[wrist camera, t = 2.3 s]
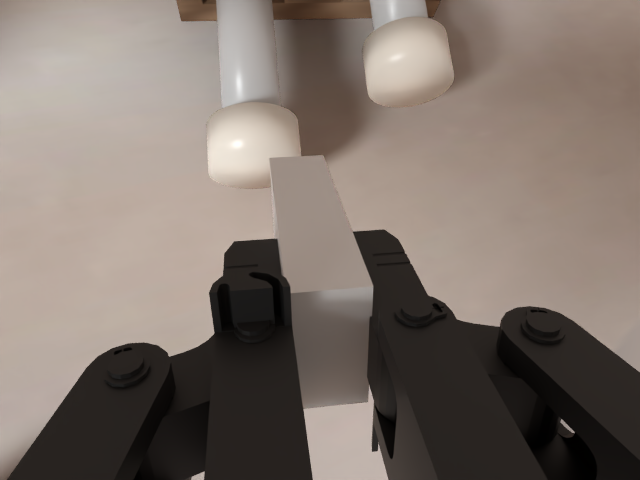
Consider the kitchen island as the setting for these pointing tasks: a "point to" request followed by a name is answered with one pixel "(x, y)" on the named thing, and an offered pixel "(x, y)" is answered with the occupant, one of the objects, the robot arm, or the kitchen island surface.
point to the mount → (293, 9)
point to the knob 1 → (248, 99)
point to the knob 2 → (406, 55)
